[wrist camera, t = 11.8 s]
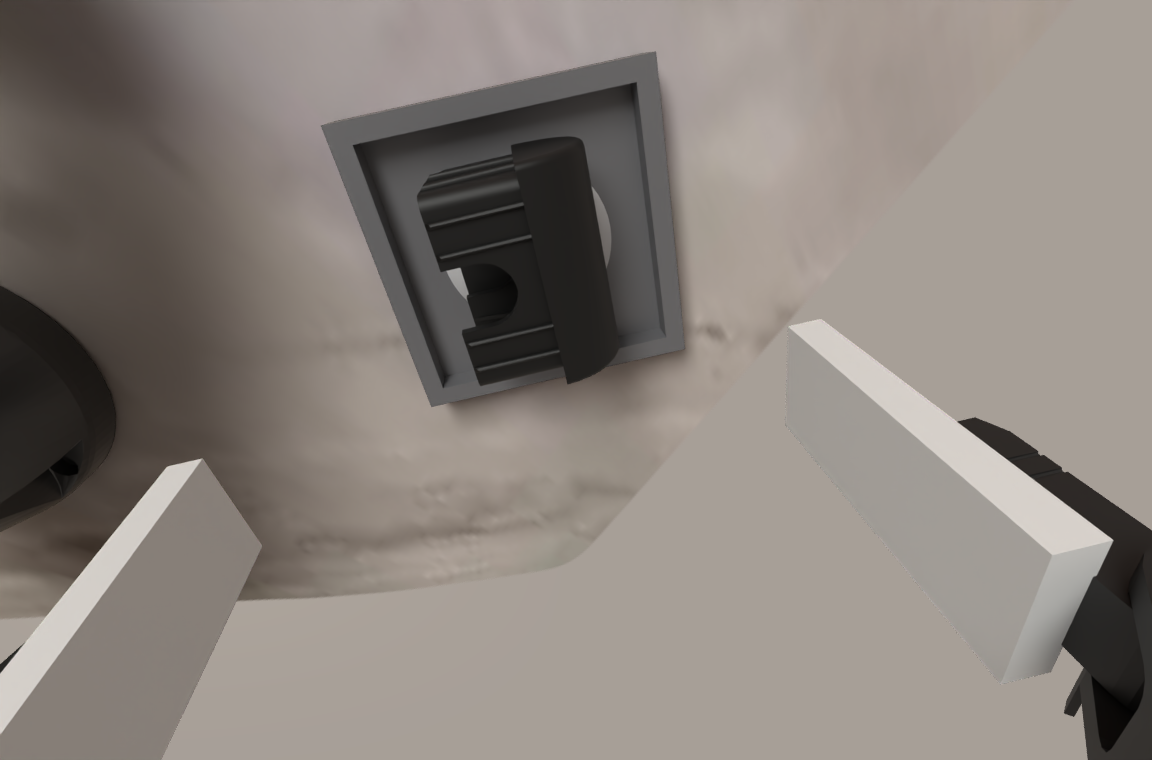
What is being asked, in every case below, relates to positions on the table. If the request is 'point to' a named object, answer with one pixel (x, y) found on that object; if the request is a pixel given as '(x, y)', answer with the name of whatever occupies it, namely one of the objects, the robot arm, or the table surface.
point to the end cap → (526, 260)
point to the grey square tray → (487, 130)
